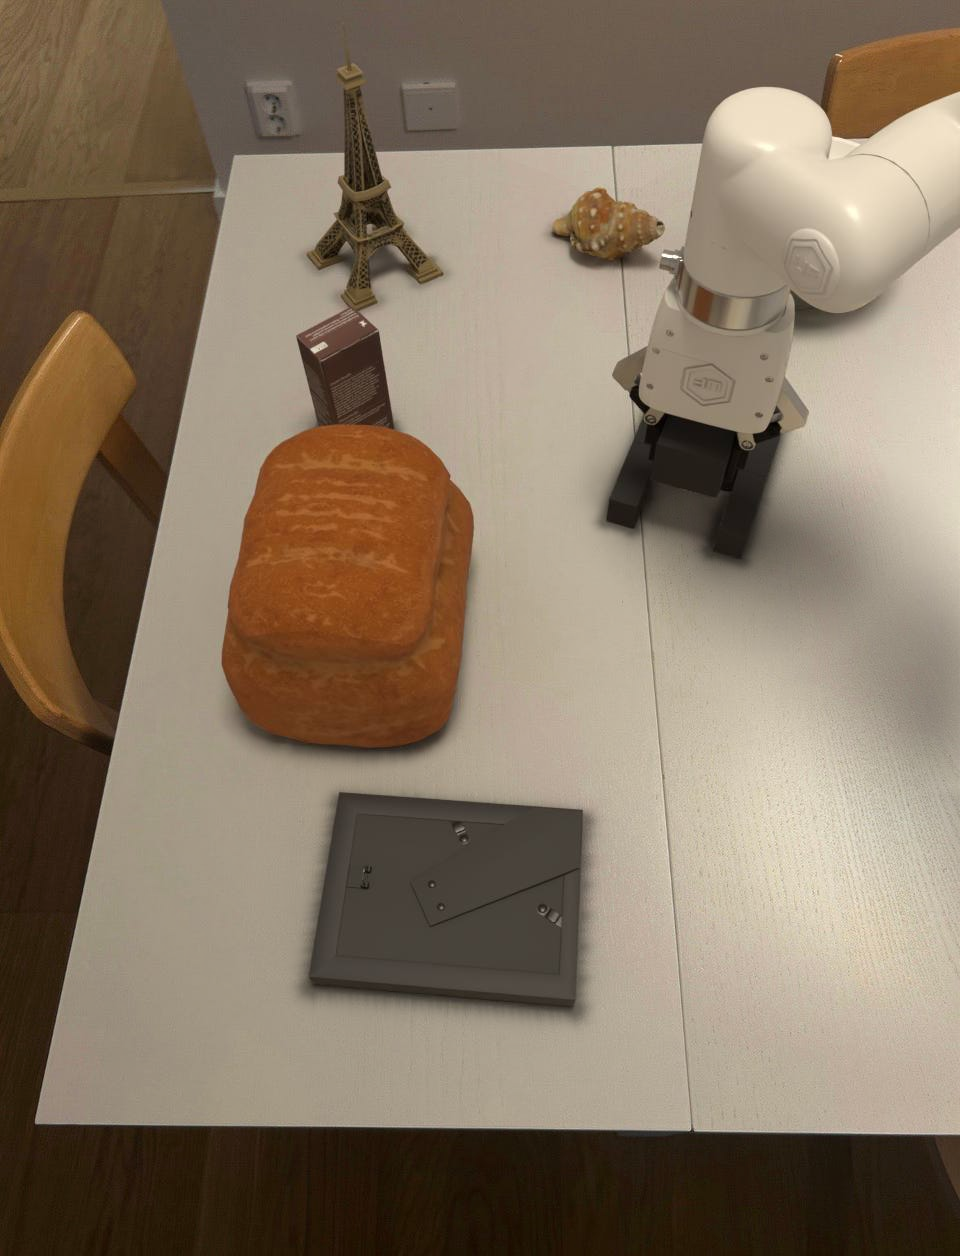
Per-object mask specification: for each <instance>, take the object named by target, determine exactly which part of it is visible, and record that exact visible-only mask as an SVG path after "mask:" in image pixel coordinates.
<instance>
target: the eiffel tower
mask: <svg viewBox="0 0 960 1256" xmlns="http://www.w3.org/2000/svg"><path fill="white" fill-rule="evenodd" d="M342 27H343V34H344V49H345V61H346V65H344V66H340V67H338V68H336V72H337V74H336V76H335V77H334V80H335V81H336V82H337V83H338V84H339V85H340V86H341V87H342V89H343V131H344V132H343V137H344V138H343V145H344V146H343V147H344V148H343V149H344V150H343V165H344V166H343V175H338V179H337V185H338V186H339V187H340V189H341V190H342V193H341V202H340V206H339V209H338V211H336V212H333V216H334V217H335V219H336V220H335V221H334V222H333V224H332V225H331V226H330V227H329V228H328V229H327V231H326V232H325V233H324V235H323V236H322V237H321V239H320V240H318V241H317V243H316V245H315V247H314V249H312V250H310V251H309V250H308V251H307V252H306V256H307V257H308V258H309V260H310V261H311V262H312V264H314V266H315V267H316V268H317V269H318V270H322V269H324V268H326V267H329V266H331V265H333V264H336V263H339V262H341V261H343V257H342V254H341V252H340V251H341V249H342V248H343V247H344V245H345V244H346V242H347V243H348V245H349V247H350V249H351V250H352V251H353V254H354V255H355V260H354V263H353V266H352V269H351V272H350V275H349V278H348V281H347V284H346V289H344V290H343V291H344V293H341V294H340V297H341V299H342V300H343V301H344V303H345V304H346V305H347V306H348V308H349V307H351V306H353V307H354V308H356V309H357V310H358V311H359V312H360V311H361V310H364V309H366V308H369V307H371V306H373V305H375V304H378V299H377V298H376V294H375V293H374V292H373V291H372V283H371V282H372V281H371V274H370V273H371V272H370V263H369V258H370V257H371V256H372V255H373V254H374V253H376V251H378V250H379V249H380V248H382V247H385V246H393V247H396V248H397V249H398V251H400V253H401V254H402V255H403V256H404V257H405V259H406V260H407V262H408V263H407V264H406V268H407V269H406V270H407V271H408V272H409V273H410V275H412V276H413V278H414V279H415V280H416V281H417V283H419V284H420V285H423V284H424V283H427V282H430V281H431V280H434V279H436V278H439V277H441V276H443V275H444V271H443V270H442V269H441V267H440V266H438V264H436V262H435V261H434V260H433V259H432V258H431V257H428V255H427V254H426V253H425V252H424V251H423V249H422V248H421V247H420V246H419V245H418V244H417V243H416V242H415V241H414V240H413V238H412V237H410V235H409V234H408V233H407V230H406V229H405V228H404V226H405V222H404V221H403V220H402V219H401V218H400V217H399V216H398V215H397V214H396V211H394V207H393V205H392V204H393V203H392V201H391V199H390V196H389V193H388V190H390V189H392V185H391V183H390V181H389V179H387V178H386V177H385V176H384V175H382V171H381V167H380V163H379V159H378V155H377V152H376V148H375V144H374V141H373V137H372V133H371V127H370V124H369V119H368V115H367V111H366V107H365V103H364V98H363V93H362V90H361V89H362V88H361V87H362V86H363V85H365V84H367V83H368V81H367V80H366V79H365V77H364V76H363V74H364V72H363V70H361V69H360V68H359V67H358V66H357V65H356V64H355V63H354V62H353V63H352V62H351V57H350V51H349V46H348V40H347V35H346V28H345V22H343V23H342ZM369 225H371V230H372V231H370V232H368V226H369Z"/></svg>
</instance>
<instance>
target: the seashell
mask: <svg viewBox="0 0 960 1256" xmlns="http://www.w3.org/2000/svg"><path fill="white" fill-rule="evenodd" d="M665 230H666V226H665V223H664V222H663V221H662V220H660V219H659V218H657V217H656V216H653V215H650V213H649V212H648V211H646V210H645V209H638V207H637V206H636V204H635V203H633V202H630V201H629V202H628V201H621V200H617V201H616V200H615V199H614V198H613V197H611V196H610V195H609V194H608V192H607V189H606V188H604V187H602V186H598V187H596V188H594V189H591V190H586V191H585V192H584V193H583V194H582V195H581V196H579V197H578V198H577V200H576V201H575V203H573V205H572V207H571V209H570V211H569V212H568V213H567V214H566V215H564V216H562V217H560V218H557V219H555V220H554V221H553V223H552V231H553V233H555V234H556V235H558V236H566V237H569V241H570V245H571V247H572V248H573V250H575V251H578V252H579V253H583V254H585V253H586V254H588V255H590V256H593V257H595V258H601V259H605V260H606V261H613V260H614V259H615V258H617V259H619V258H622V257H623V256H624V255H625V254H626V253H628V254H631V253H635V252H636V251H638V250H640V249H641V248H642V247H643V246H649V244H651V243H652V242H654V241H655V240H658V239H659V238H661V237H662V236H663V235H664V233H665Z"/></svg>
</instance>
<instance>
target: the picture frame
mask: <svg viewBox="0 0 960 1256" xmlns="http://www.w3.org/2000/svg"><path fill="white" fill-rule="evenodd" d="M583 819H584V810H583V809H579V808H578V809H576V808H565V807H563V808H562V807H551V806H550V807H549V806H535V805H523V804H512V803H511V804H510V803H509V804H508V803H496V802H495V803H494V802H484V801H483V802H481V801H469V800H467V801H466V800H465V801H464V800H454V799H441V798H440V799H439V798H427V797H426V798H425V797H413V796H401V795H400V796H399V795H383V794H373V793H372V794H371V793H359V792H358V793H357V792H346V791H345V792H344V791H339V792H338V798H337V804H336V809H335V816H334V821H333V827H332V834H331V840H330V846H329V851H328V857H327V863H326V869H325V874H324V875H325V876H324V883H323V889H322V894H321V900H320V907H319V913H318V918H317V924H316V930H315V936H314V942H313V948H312V955H311V959H310V966H309V973H308V978H309V979H310V981H311V983H312V984H313V985H320V986H333V987H341V988H342V987H343V988H355V989H366V990H376V991H377V990H378V991H388V992H389V991H390V992H398V993H399V992H401V993H410V994H423V995H435V996H446V997H457V998H466V999H467V998H469V999H480V1000H491V1001H503V1002H514V1003H526V1004H535V1005H536V1004H537V1005H549V1006H558V1007H559V1006H560V1007H561V1006H562V1007H571V1008H573V1007H574V1006H575V1002H576V991H577V990H576V989H577V988H576V986H577V968H578V967H577V964H578V943H579V942H578V939H579V919H580V918H579V915H580V892H581V870H582V869H581V868H582V866H581V865H582V845H583V844H582V843H583V841H582V840H583Z"/></svg>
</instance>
